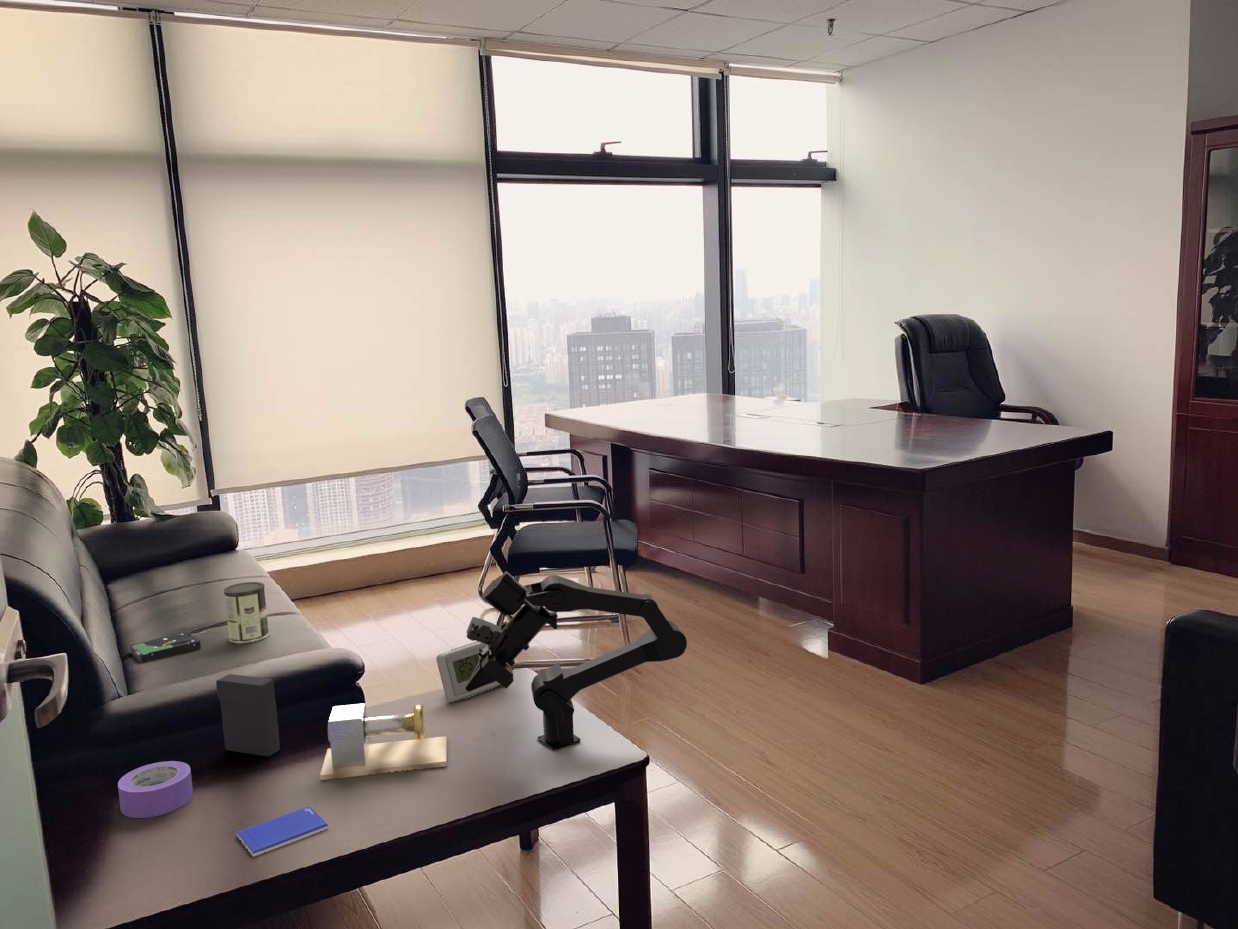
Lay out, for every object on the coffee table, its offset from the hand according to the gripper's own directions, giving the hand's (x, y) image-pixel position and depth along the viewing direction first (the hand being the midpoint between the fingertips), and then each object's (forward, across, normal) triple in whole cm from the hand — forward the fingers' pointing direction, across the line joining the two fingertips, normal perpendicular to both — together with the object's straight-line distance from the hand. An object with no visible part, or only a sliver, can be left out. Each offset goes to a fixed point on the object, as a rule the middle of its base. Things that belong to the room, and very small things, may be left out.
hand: (466, 689), depth 183 cm
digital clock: (+8, -30, +10) cm, 32 cm away
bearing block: (+24, 0, -8) cm, 25 cm away
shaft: (+19, 0, -6) cm, 20 cm away
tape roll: (+48, +7, -30) cm, 58 cm away
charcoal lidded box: (+39, -10, -21) cm, 46 cm away
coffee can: (+50, -83, -32) cm, 102 cm away
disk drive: (+64, -78, -46) cm, 110 cm away
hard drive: (+32, +23, -13) cm, 41 cm away
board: (+20, 0, -3) cm, 20 cm away
